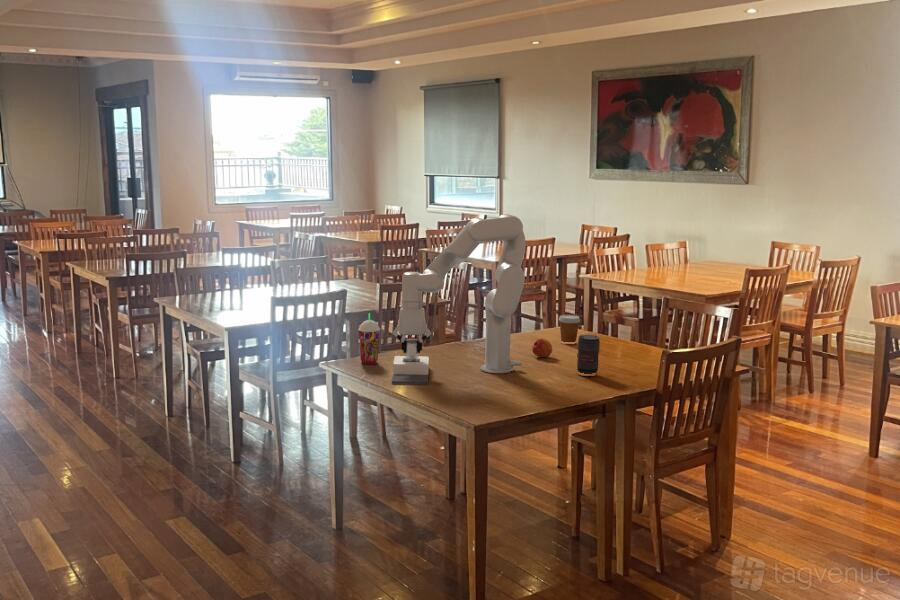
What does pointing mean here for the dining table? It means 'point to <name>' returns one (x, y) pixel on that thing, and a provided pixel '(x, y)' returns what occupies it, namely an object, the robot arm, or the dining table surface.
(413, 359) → the steel plug
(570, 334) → the disposable coffee cup
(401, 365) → the socket block
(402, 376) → the rubber pad
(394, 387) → the dining table surface
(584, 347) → the camera lens
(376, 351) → the smoothie
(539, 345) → the fruit
